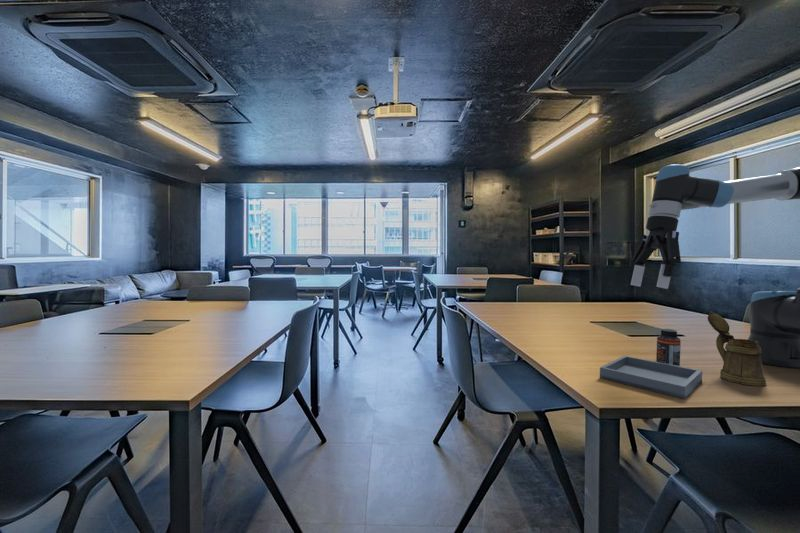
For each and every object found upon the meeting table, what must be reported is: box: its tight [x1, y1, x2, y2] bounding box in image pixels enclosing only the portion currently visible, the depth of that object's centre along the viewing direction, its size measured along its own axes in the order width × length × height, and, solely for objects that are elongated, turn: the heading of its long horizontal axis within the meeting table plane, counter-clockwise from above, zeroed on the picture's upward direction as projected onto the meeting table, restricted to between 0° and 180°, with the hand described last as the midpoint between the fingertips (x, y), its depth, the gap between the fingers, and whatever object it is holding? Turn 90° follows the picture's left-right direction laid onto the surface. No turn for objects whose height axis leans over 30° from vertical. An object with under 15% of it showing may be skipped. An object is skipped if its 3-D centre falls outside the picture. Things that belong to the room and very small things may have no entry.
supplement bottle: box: [655, 328, 682, 366], centre depth 111 cm, size 6×6×11 cm
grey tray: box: [599, 355, 703, 400], centre depth 98 cm, size 19×19×3 cm
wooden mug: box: [707, 310, 767, 387], centre depth 100 cm, size 9×14×18 cm, turn 12°
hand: (647, 286), depth 107 cm, fingers open, 13 cm apart
